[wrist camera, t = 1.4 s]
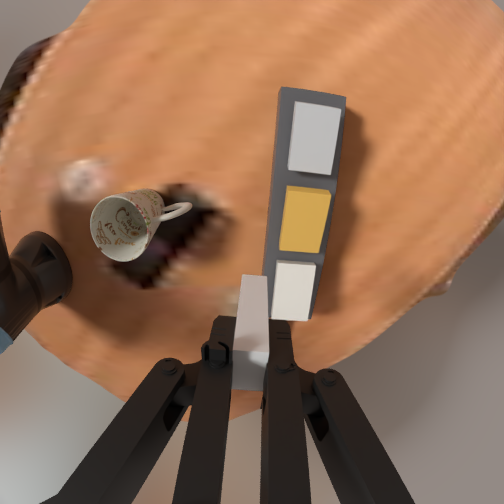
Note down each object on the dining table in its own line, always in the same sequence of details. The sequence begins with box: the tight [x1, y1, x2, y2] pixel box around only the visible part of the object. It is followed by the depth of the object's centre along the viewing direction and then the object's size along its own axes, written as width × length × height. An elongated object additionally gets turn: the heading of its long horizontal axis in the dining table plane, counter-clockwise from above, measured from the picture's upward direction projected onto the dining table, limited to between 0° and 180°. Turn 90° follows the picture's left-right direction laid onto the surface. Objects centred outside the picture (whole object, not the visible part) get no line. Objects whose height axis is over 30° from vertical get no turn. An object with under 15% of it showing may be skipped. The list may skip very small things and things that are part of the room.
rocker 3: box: [271, 260, 316, 321], centre depth 37 cm, size 5×8×2 cm, turn 176°
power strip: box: [262, 87, 346, 319], centre depth 37 cm, size 8×38×5 cm, turn 176°
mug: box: [90, 189, 192, 261], centre depth 34 cm, size 8×13×10 cm, turn 101°
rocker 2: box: [279, 185, 331, 253], centre depth 33 cm, size 5×8×2 cm, turn 176°
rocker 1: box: [287, 101, 341, 175], centre depth 29 cm, size 5×8×2 cm, turn 176°
